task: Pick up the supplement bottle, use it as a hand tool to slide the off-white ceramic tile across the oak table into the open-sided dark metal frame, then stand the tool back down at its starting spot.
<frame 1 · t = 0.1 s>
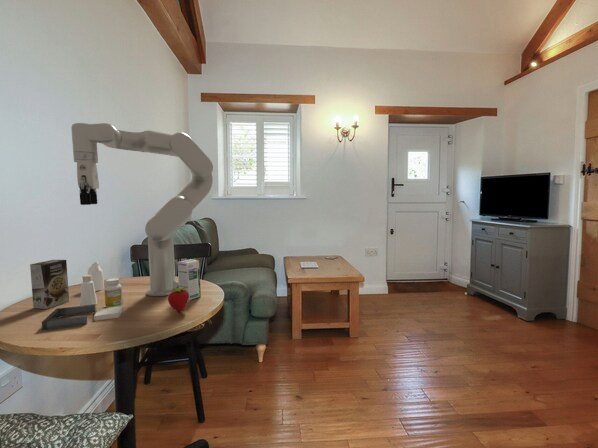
hand: (89, 204, 120), 37 cm above the table, tool pointing down, fingers open, 9 cm apart
frame: (73, 319, 103), on the table
tile: (109, 316, 107), on the table
supplement bottle: (114, 306, 116), on the table
pepper shaker: (89, 305, 118), on the table
syrup box: (190, 298, 124), on the table
coffee box: (52, 305, 119), on the table
strawberry: (179, 313, 108), on the table
roll: (96, 289, 137), on the table
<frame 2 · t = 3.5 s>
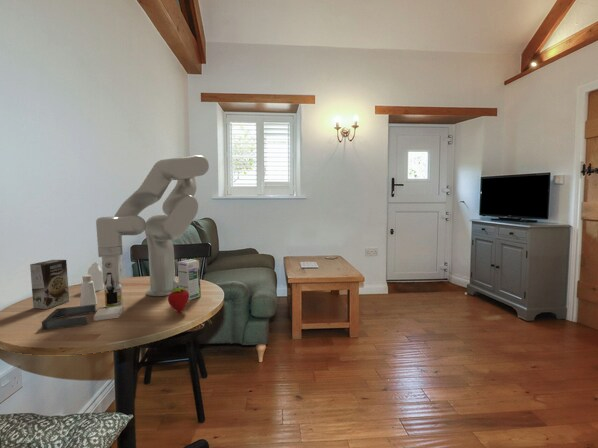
hand: (113, 300, 116), 2 cm above the table, tool pointing down, fingers closed on supplement bottle, 5 cm apart
supplement bottle: (114, 306, 116), on the table, touching gripper
everything else where it was.
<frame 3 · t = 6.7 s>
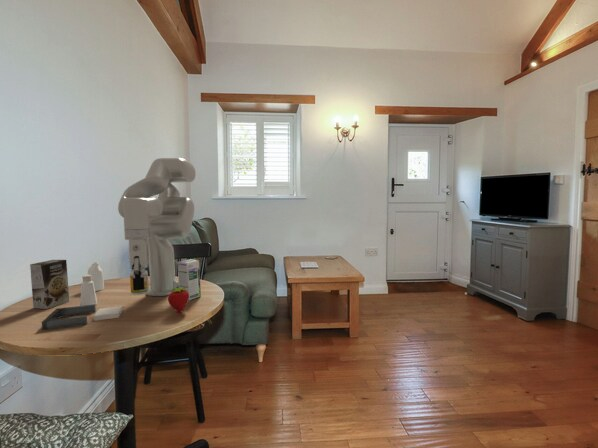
hand: (139, 286, 109), 9 cm above the table, tool pointing down, fingers closed on supplement bottle, 5 cm apart
supplement bottle: (140, 293, 109), point 6 cm above the table, touching gripper
everything else where it was.
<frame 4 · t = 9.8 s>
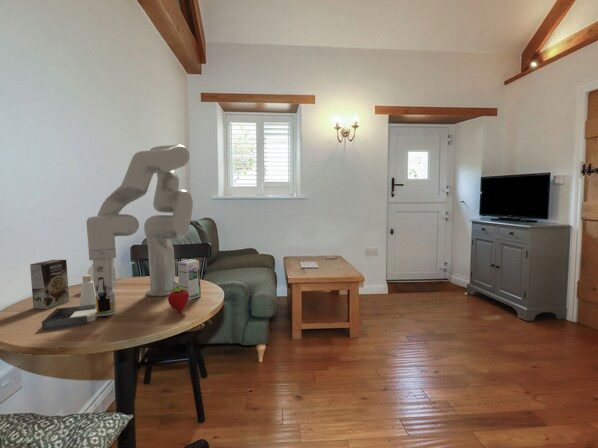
hand: (106, 307, 106), 3 cm above the table, tool pointing down, fingers closed on supplement bottle, 5 cm apart
tile: (85, 319, 104), on the table, touching supplement bottle
supplement bottle: (106, 313, 107), point 1 cm above the table, touching gripper, tile
everything else where it was.
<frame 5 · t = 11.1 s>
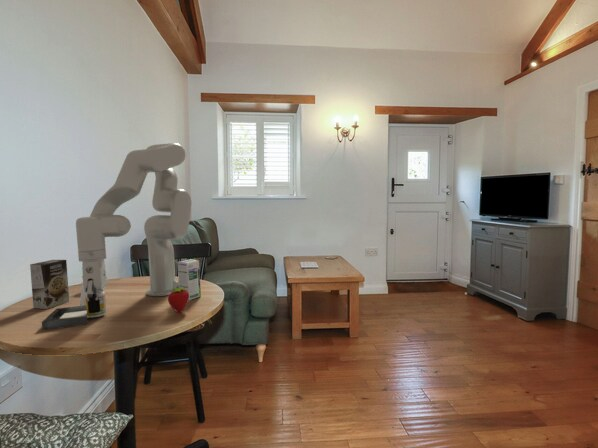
hand: (96, 308, 105), 3 cm above the table, tool pointing down, fingers closed on supplement bottle, 5 cm apart
tile: (74, 321, 103), on the table
supplement bottle: (97, 315, 106), on the table, touching gripper
everything else where it was.
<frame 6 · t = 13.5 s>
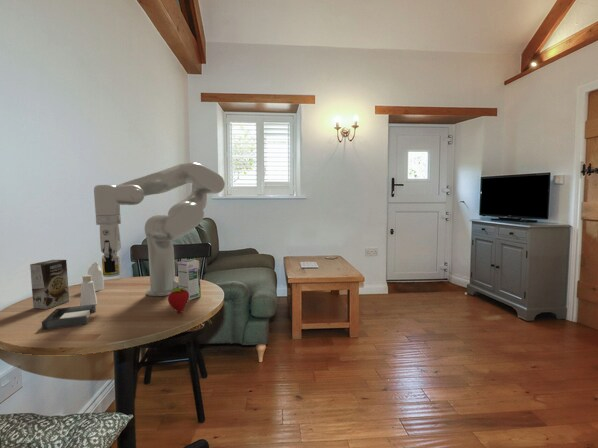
hand: (111, 269, 115), 13 cm above the table, tool pointing down, fingers closed on supplement bottle, 5 cm apart
supplement bottle: (111, 275, 115), point 11 cm above the table, touching gripper
everything else where it was.
when the fingers open (3 cm above the table, at t = 15.6 s): supplement bottle stays where it is, on the table.
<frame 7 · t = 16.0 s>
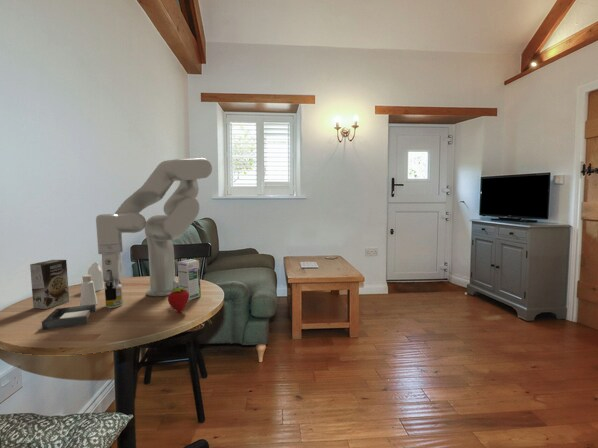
hand: (113, 295, 116), 4 cm above the table, tool pointing down, fingers open, 9 cm apart
supplement bottle: (114, 306, 116), on the table
everything else where it was.
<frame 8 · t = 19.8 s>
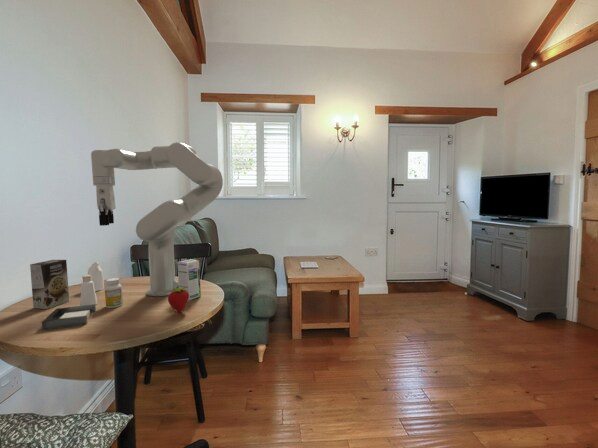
hand: (107, 224, 130), 28 cm above the table, tool pointing down, fingers open, 9 cm apart
nothing on the table moved.
at the end: tile 1.1 cm off-centre on the frame, point -0.5 cm above the frame's base; supplement bottle tilted 0°; the gripper is holding nothing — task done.
